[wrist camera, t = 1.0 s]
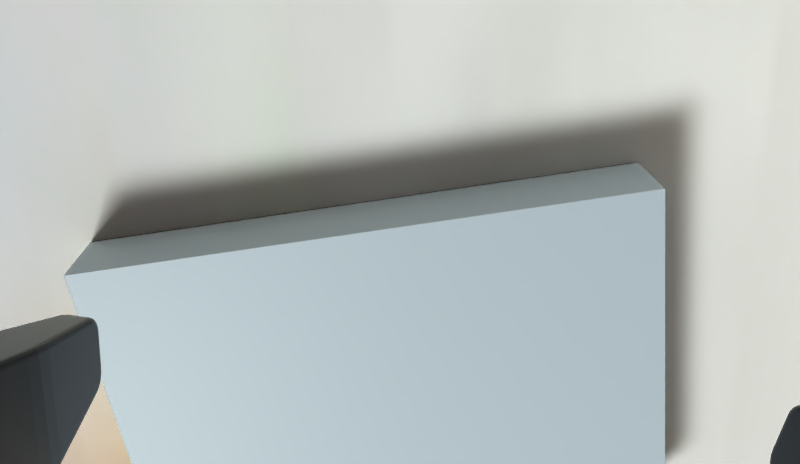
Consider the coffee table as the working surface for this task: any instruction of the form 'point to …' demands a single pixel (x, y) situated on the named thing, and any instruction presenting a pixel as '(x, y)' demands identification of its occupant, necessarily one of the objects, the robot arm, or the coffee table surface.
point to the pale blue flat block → (394, 329)
